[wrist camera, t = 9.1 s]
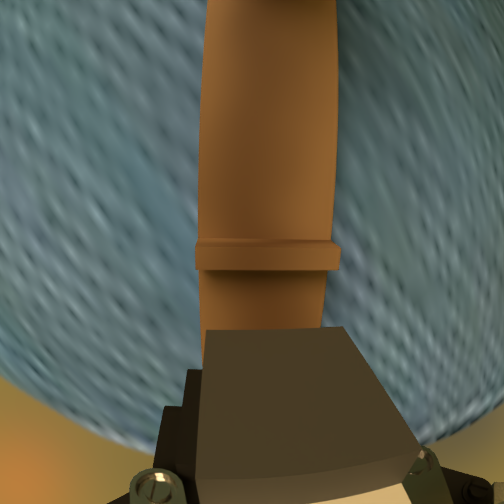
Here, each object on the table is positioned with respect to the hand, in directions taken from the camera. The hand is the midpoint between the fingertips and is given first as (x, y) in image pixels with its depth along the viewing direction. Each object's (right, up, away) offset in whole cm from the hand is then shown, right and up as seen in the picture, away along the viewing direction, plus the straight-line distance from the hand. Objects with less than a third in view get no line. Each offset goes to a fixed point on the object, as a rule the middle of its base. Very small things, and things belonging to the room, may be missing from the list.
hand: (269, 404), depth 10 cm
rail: (0, +12, +2) cm, 12 cm away
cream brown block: (0, 0, +1) cm, 1 cm away
